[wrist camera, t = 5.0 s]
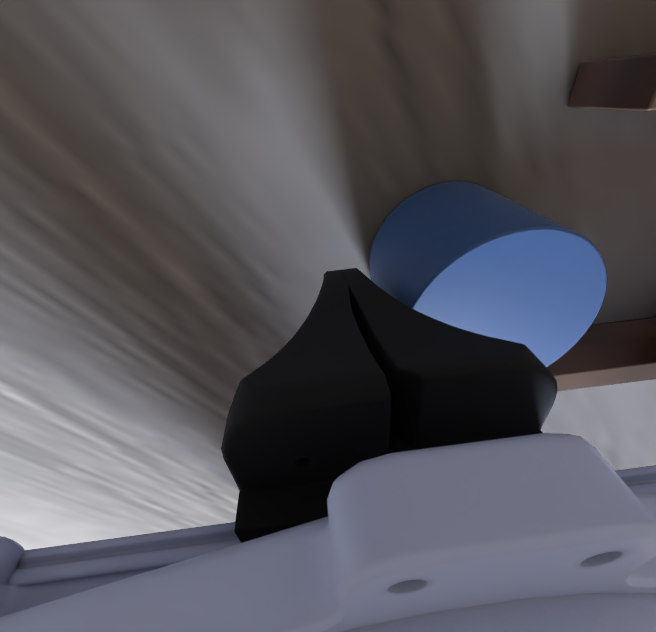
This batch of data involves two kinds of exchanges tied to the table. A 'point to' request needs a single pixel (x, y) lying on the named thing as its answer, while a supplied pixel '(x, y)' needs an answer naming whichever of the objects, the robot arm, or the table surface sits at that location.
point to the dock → (628, 336)
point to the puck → (490, 267)
